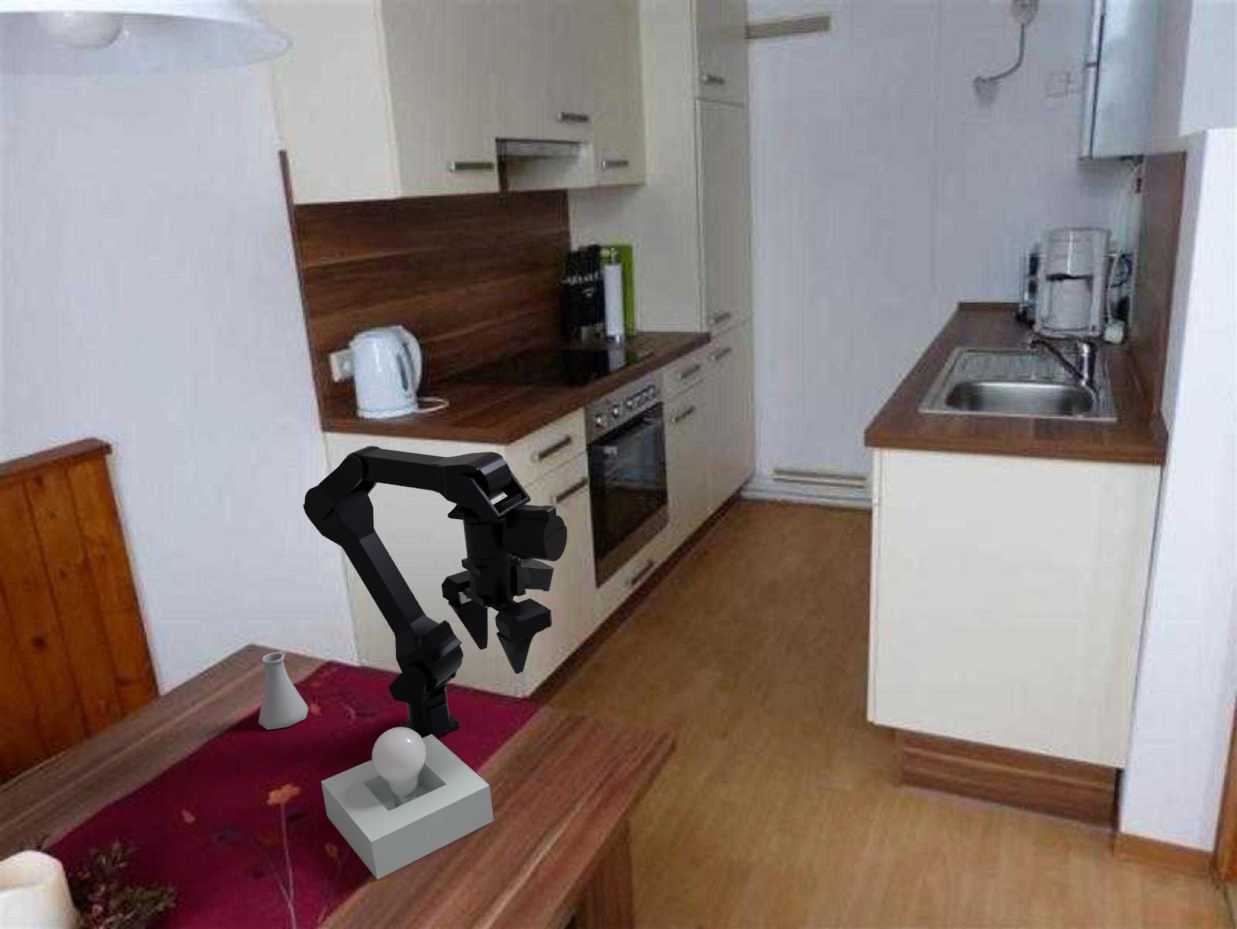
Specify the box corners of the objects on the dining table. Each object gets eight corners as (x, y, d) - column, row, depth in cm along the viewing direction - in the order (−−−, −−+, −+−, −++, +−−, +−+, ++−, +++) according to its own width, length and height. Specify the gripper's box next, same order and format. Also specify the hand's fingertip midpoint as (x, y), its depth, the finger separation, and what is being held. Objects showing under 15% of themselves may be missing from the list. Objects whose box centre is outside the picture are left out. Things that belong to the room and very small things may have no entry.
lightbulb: (443, 809, 115) (432, 730, 111) (397, 834, 111) (384, 753, 108) (417, 787, 119) (406, 711, 116) (371, 810, 115) (359, 732, 112)
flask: (255, 713, 141) (243, 653, 138) (304, 699, 144) (294, 640, 142) (262, 736, 135) (250, 674, 132) (313, 720, 138) (302, 660, 135)
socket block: (327, 816, 116) (321, 781, 115) (436, 767, 125) (431, 734, 124) (377, 879, 105) (371, 842, 103) (493, 820, 113) (489, 785, 112)
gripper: (582, 552, 118) (590, 664, 123) (504, 518, 133) (515, 619, 137) (506, 578, 112) (518, 694, 116) (433, 539, 126) (446, 644, 131)
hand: (500, 660), depth 125 cm, fingers open, 9 cm apart
